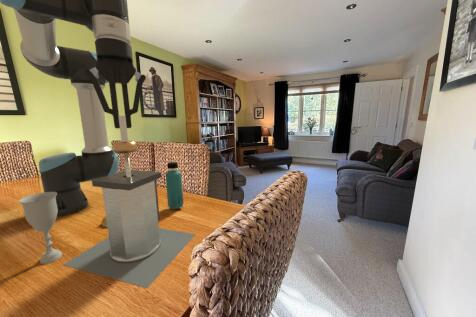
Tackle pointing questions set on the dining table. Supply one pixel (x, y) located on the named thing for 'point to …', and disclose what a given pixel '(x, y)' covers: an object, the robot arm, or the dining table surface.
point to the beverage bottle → (174, 186)
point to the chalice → (42, 219)
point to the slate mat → (135, 272)
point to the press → (131, 214)
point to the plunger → (126, 153)
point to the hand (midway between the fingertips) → (124, 141)
